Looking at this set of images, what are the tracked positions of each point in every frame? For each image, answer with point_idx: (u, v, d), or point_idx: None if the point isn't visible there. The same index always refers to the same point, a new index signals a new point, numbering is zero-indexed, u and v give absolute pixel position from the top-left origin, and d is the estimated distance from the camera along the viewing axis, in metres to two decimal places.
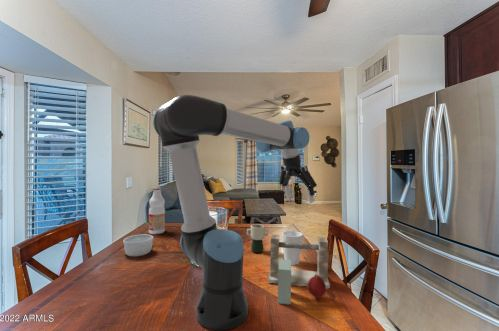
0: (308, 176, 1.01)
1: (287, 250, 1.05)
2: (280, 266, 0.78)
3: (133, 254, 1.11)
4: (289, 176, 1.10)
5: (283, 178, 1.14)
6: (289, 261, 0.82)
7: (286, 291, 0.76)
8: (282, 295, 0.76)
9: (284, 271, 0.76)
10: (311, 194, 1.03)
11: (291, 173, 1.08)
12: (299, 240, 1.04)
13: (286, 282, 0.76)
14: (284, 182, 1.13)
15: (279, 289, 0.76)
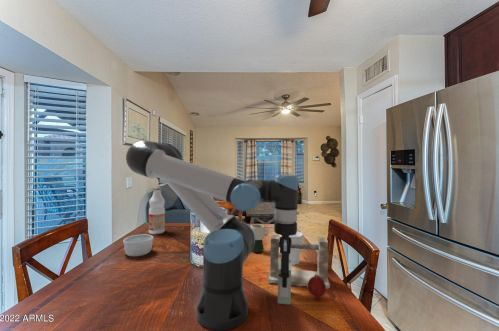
0: (283, 260, 0.73)
1: None
2: (280, 266, 0.78)
3: (133, 254, 1.11)
4: None
5: None
6: (289, 261, 0.82)
7: None
8: None
9: None
10: (282, 285, 0.74)
11: None
12: (299, 240, 1.04)
13: None
14: None
15: (279, 289, 0.76)
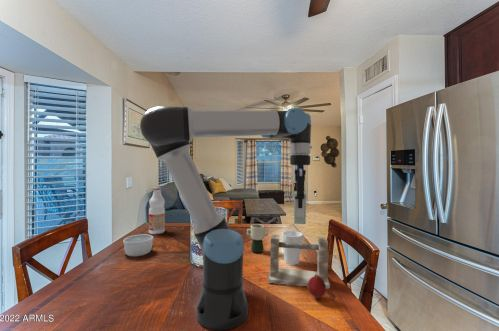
0: (299, 183, 0.84)
1: (287, 250, 1.05)
2: (296, 193, 0.89)
3: (133, 254, 1.11)
4: None
5: None
6: None
7: None
8: None
9: None
10: (298, 206, 0.86)
11: None
12: (299, 240, 1.04)
13: None
14: (296, 189, 0.96)
15: (295, 211, 0.88)
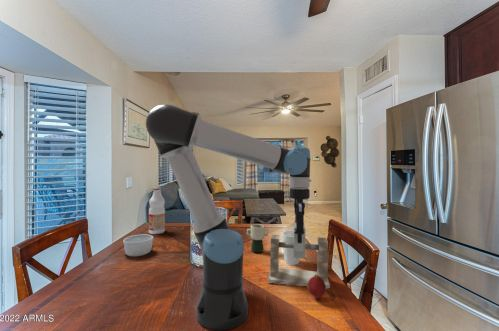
0: (298, 219, 0.85)
1: (287, 250, 1.05)
2: (295, 226, 0.90)
3: (133, 254, 1.11)
4: None
5: None
6: None
7: None
8: None
9: None
10: (297, 241, 0.86)
11: None
12: None
13: None
14: (295, 221, 0.96)
15: (295, 245, 0.88)
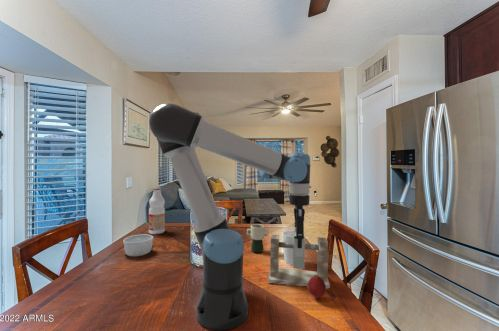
0: (298, 223, 0.84)
1: (287, 250, 1.05)
2: None
3: (133, 254, 1.11)
4: None
5: None
6: None
7: (301, 257, 0.88)
8: (297, 261, 0.88)
9: None
10: (297, 246, 0.84)
11: None
12: None
13: None
14: (295, 223, 0.98)
15: (294, 256, 0.88)
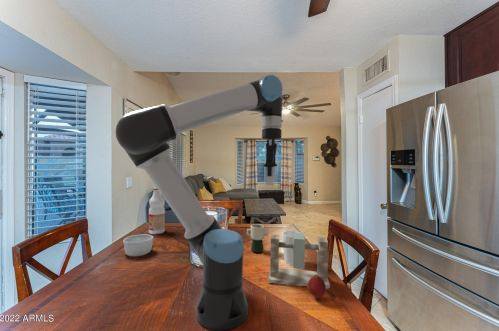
0: (268, 151, 0.84)
1: (287, 250, 1.05)
2: (295, 237, 0.90)
3: (133, 254, 1.11)
4: None
5: None
6: (302, 233, 0.94)
7: (301, 257, 0.88)
8: (297, 261, 0.88)
9: (299, 240, 0.88)
10: None
11: None
12: None
13: (300, 250, 0.88)
14: None
15: (294, 256, 0.88)
